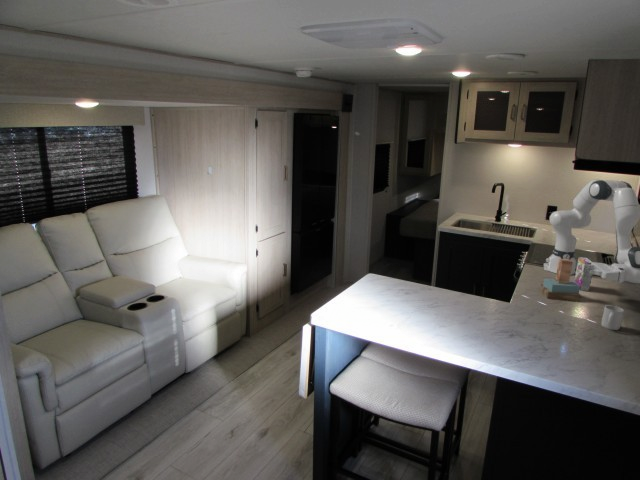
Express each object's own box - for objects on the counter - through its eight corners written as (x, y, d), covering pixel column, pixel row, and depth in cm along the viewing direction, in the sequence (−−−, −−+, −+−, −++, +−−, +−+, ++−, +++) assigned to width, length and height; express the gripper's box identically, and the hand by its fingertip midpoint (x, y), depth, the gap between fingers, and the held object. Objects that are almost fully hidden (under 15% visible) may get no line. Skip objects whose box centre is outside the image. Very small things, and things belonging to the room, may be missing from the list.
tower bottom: (539, 291, 251) (541, 284, 250) (571, 294, 248) (572, 287, 247) (547, 299, 238) (548, 292, 237) (580, 302, 236) (581, 295, 235)
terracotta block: (555, 280, 245) (559, 258, 242) (565, 281, 244) (569, 259, 241) (558, 282, 240) (562, 260, 237) (568, 283, 239) (572, 261, 236)
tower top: (543, 285, 248) (544, 278, 247) (569, 287, 247) (570, 280, 246) (551, 292, 238) (552, 284, 237) (578, 293, 237) (580, 286, 236)
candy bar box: (572, 284, 264) (578, 256, 260) (582, 285, 263) (587, 257, 259) (579, 290, 253) (585, 262, 249) (589, 291, 252) (595, 263, 248)
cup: (620, 326, 206) (624, 308, 204) (617, 333, 199) (621, 314, 197) (602, 322, 211) (606, 304, 209) (598, 328, 203) (602, 309, 201)
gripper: (610, 260, 243) (581, 258, 246) (625, 271, 224) (595, 268, 227) (607, 272, 245) (579, 269, 248) (623, 284, 226) (592, 280, 228)
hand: (587, 269), depth 237 cm, fingers open, 8 cm apart
